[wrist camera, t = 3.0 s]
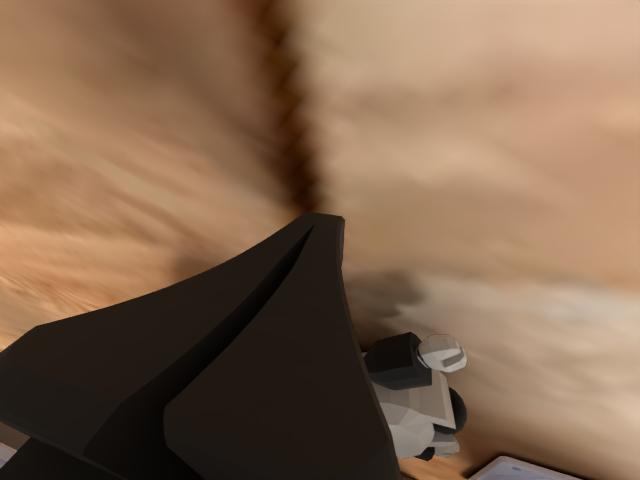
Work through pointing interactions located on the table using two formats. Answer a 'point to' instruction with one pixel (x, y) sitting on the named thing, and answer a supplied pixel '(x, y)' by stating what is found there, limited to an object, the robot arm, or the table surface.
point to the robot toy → (418, 392)
